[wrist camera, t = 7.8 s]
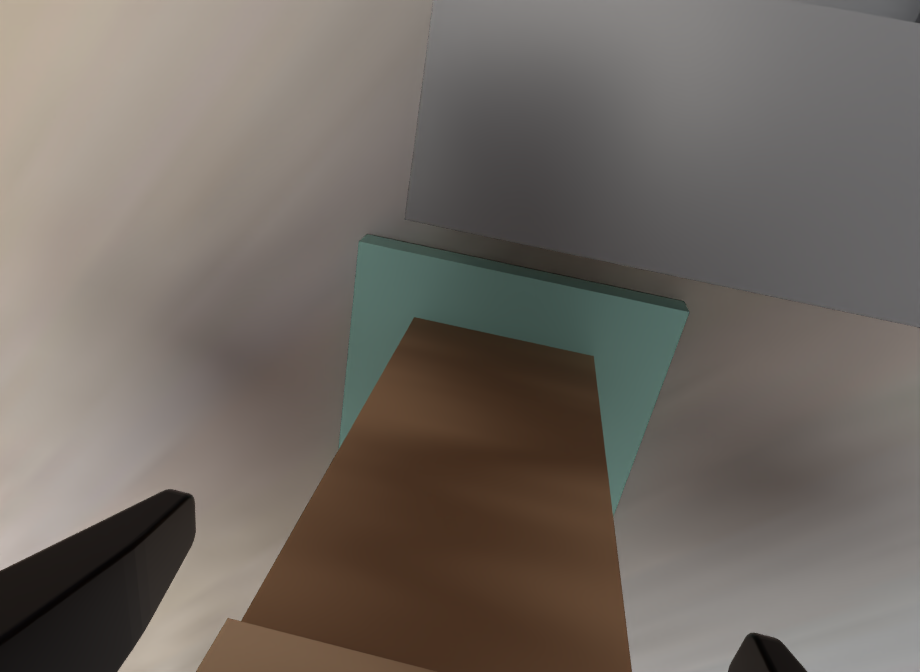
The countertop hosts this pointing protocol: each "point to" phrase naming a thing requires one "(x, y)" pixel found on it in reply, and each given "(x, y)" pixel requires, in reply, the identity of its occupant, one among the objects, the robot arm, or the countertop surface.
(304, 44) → the countertop surface
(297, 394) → the countertop surface
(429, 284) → the mat
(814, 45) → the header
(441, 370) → the plug
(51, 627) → the robot arm
